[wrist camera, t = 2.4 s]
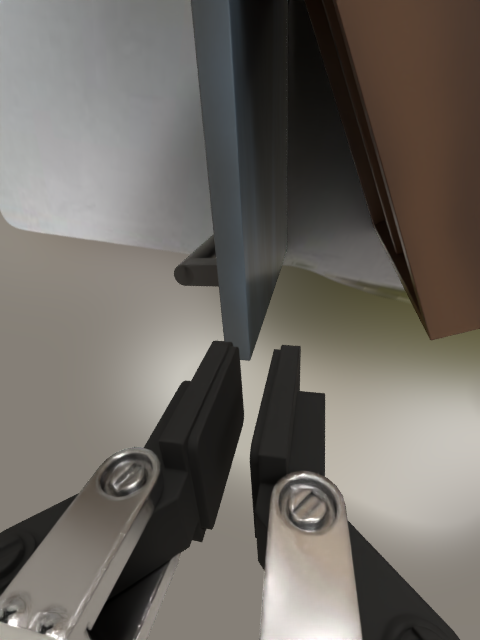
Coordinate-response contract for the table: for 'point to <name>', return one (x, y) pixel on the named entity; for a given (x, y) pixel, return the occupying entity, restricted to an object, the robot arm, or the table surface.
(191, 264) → the door
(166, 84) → the table surface
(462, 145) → the cupboard
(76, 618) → the robot arm
